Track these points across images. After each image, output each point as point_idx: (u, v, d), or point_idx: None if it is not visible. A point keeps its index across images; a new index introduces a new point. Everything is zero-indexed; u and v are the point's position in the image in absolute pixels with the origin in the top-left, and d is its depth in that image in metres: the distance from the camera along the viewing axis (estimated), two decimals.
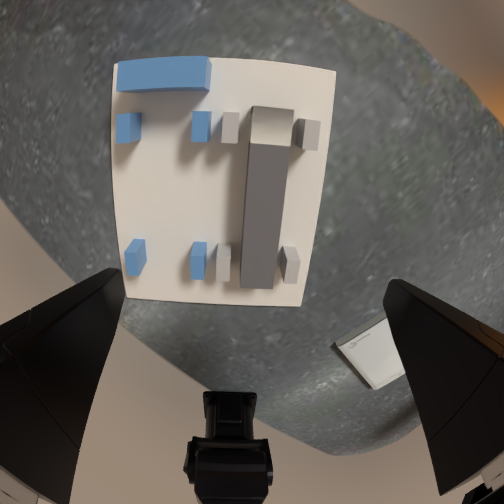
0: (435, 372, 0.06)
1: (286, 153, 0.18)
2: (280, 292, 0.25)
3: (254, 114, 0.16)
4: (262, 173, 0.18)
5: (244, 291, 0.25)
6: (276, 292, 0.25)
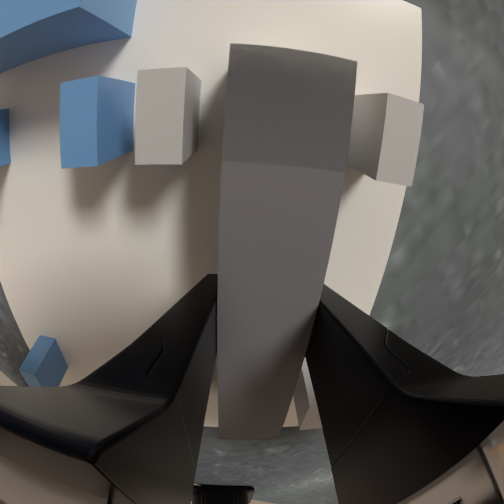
0: (333, 388, 0.06)
1: (332, 193, 0.06)
2: (290, 413, 0.14)
3: (233, 69, 0.05)
4: (260, 250, 0.06)
5: None
6: None
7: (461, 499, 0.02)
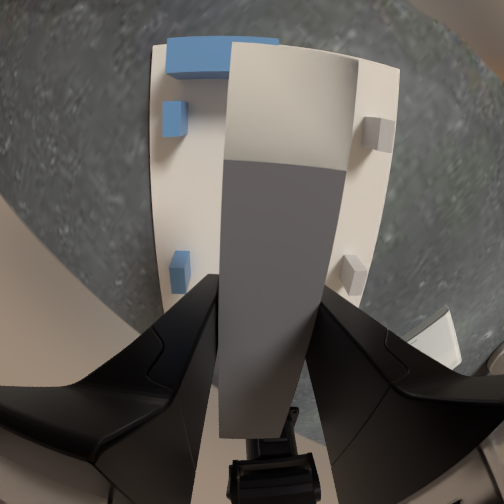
0: (333, 388, 0.06)
1: (334, 191, 0.06)
2: None
3: (235, 67, 0.05)
4: (263, 248, 0.06)
5: None
6: None
7: (461, 499, 0.02)
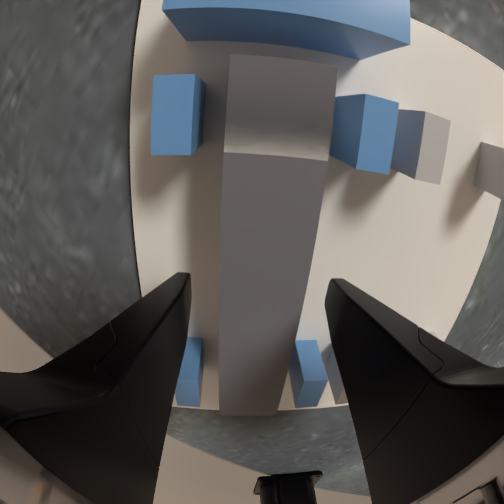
0: (367, 384, 0.06)
1: (317, 178, 0.07)
2: None
3: (233, 75, 0.06)
4: (257, 228, 0.07)
5: None
6: None
7: (497, 476, 0.02)
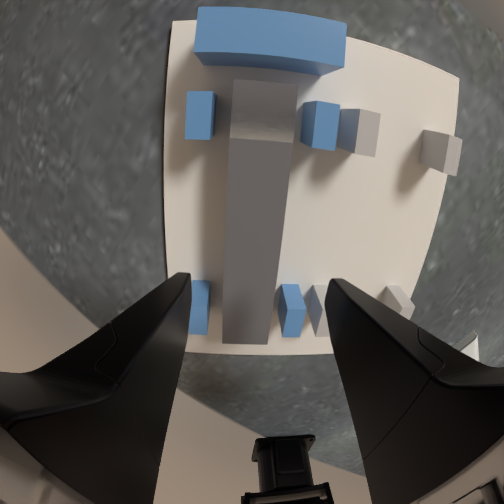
0: (367, 384, 0.06)
1: (286, 153, 0.11)
2: None
3: (235, 92, 0.10)
4: (250, 184, 0.12)
5: None
6: None
7: (497, 476, 0.02)
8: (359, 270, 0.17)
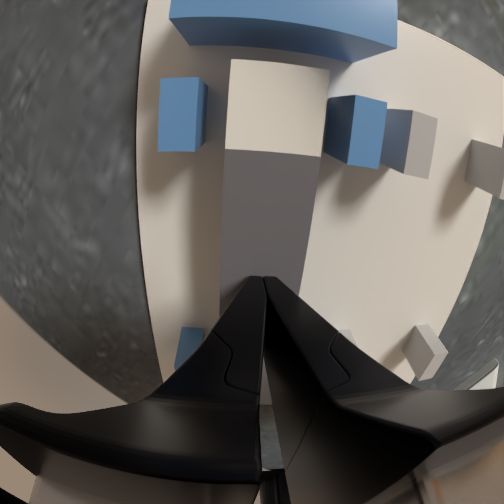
0: (282, 391, 0.06)
1: (311, 173, 0.07)
2: None
3: (233, 79, 0.06)
4: (255, 219, 0.08)
5: None
6: None
7: None
8: (387, 311, 0.13)
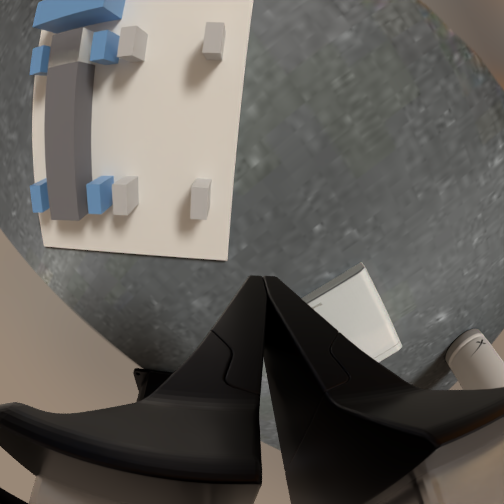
0: (282, 391, 0.06)
1: (74, 68, 0.12)
2: (199, 239, 0.21)
3: (52, 42, 0.11)
4: (56, 92, 0.13)
5: (157, 237, 0.21)
6: (194, 239, 0.21)
7: None
8: (163, 161, 0.18)
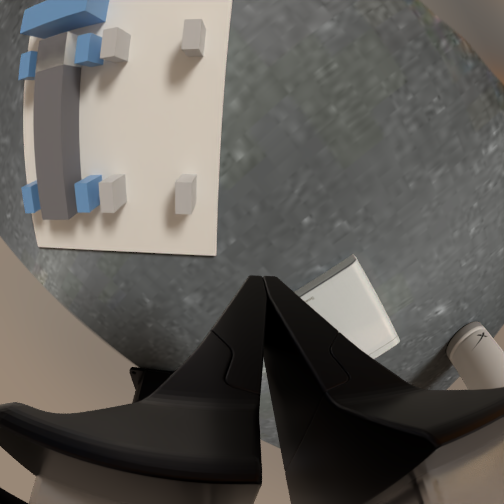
0: (282, 391, 0.06)
1: (60, 71, 0.12)
2: (187, 235, 0.21)
3: (39, 47, 0.11)
4: (43, 95, 0.13)
5: (146, 234, 0.20)
6: (182, 235, 0.21)
7: None
8: (149, 158, 0.18)
